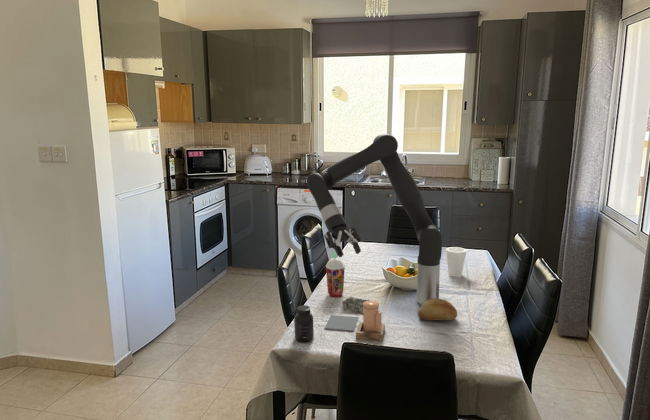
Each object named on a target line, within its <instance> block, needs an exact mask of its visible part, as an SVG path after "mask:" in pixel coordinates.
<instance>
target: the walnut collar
mask: <svg viewBox="0 0 650 420" xmlns="http://www.w3.org/2000/svg"><path fill="white" fill-rule="evenodd" d="M385 330H386V324H385V323H382V322H381V331H379V332H378V333H372V332H363V321H359V323H358V326H357V327H356V331H355V339H356V340H362V341H363V340H364V341H370V342H371V341H374V342H383V340H384V334H385Z"/></svg>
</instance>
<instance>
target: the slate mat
mask: <svg viewBox="0 0 650 420" xmlns="http://www.w3.org/2000/svg"><path fill="white" fill-rule="evenodd" d="M358 321H359V316H349V315H336V314H331V315H330V317H329V318H328V321H327V322H326V324H325V326H324V330H329V331H340V332H350V333H351V332H353V333H354V331H355V329H356V327H357V323H358Z"/></svg>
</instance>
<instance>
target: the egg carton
mask: <svg viewBox="0 0 650 420" xmlns="http://www.w3.org/2000/svg"><path fill="white" fill-rule="evenodd" d="M370 300H371V299H362V298H359V297H357V298H356V297H354V296H353V297H352V296H349V297H347V298H345V299H344V300H341V303H342V305H341V306H342V309H343V310H345V311H347V310H348V311H349V310H350V311H351V312H359V313H363V302H365V301H370Z"/></svg>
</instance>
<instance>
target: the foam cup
mask: <svg viewBox="0 0 650 420" xmlns="http://www.w3.org/2000/svg"><path fill="white" fill-rule="evenodd" d="M445 254H446V263H447V273H448V276H450V277H452V278H460V277H462V275H463V271H464V266H465V265H464V264H465V259H466V256H467V250H466V248H463V247H458V246H451V247H446V249H445Z"/></svg>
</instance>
